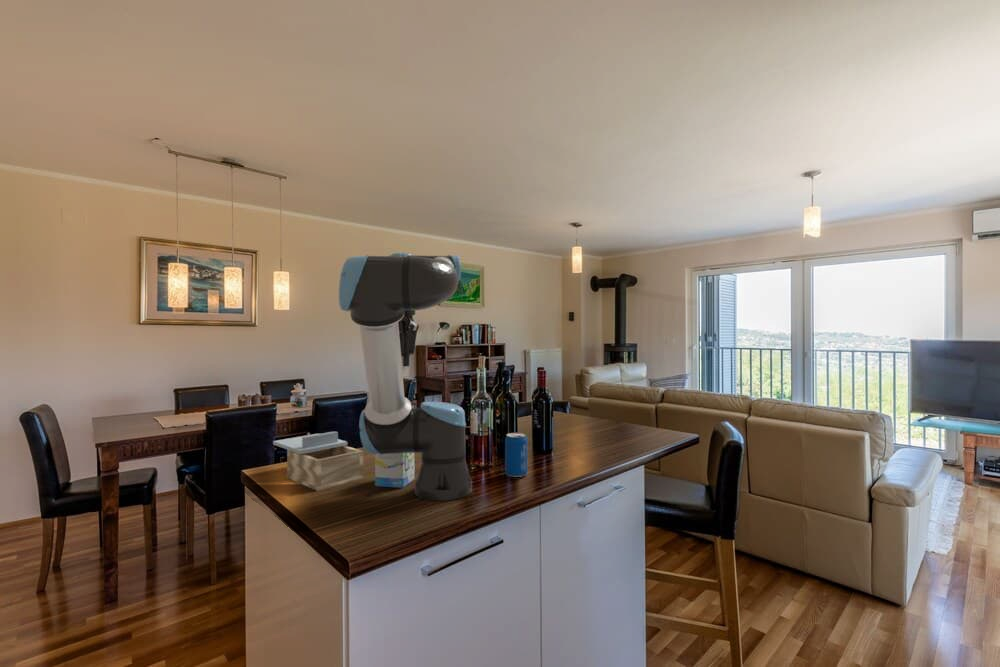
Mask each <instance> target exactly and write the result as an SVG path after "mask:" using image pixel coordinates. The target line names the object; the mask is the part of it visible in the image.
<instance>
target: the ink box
mask: <svg viewBox="0 0 1000 667" xmlns="http://www.w3.org/2000/svg"><path fill="white" fill-rule="evenodd" d="M374 455H375V456H374V460H375V461H374V462H375V463H374V465H375V466H374V467H375V468H374V470H375V471H374V478H375V479H374V486H375V487H383V488H384V487H386V488H401V489H403V488H404V487H406V486H407V485H408V484H410V483H411V482H412V481H414V480H415V453H393V454H374Z"/></svg>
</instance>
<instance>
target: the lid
mask: <svg viewBox="0 0 1000 667" xmlns="http://www.w3.org/2000/svg"><path fill="white" fill-rule="evenodd" d="M272 445H274V446H277V447H279V448H282V449H285V450H290V451H293V452H295V453H298V454H305V453H310V452H315V451H320V450H325V449H330V448H335V447H340V446H348V441H346V440H342V439H339V432H338V431H328V432H324V433H323V432H322V433H313V434H307V435H302V436H300V435H299V436H296V437H295V436H294V437H290V438H289V437H288V438H284V439H278V440H273V441H272Z"/></svg>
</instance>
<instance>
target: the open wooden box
mask: <svg viewBox="0 0 1000 667" xmlns="http://www.w3.org/2000/svg"><path fill="white" fill-rule="evenodd" d="M286 450H287V449H286ZM286 452H287V454H286V458H287V459H286V460H287V461H286V463H287V466H286V467H287V468H286V469H287V471H286V472H287V474H286V475H287V476H286V477H287V478H288V479H290V480H293V481H294V482H296V483H299V484H301V485H303V486H306V487H308V488H309V489H311V490H314V491H316V492H318V491H322V490H325V489H329V488H333V487H337V486H341V485H344V484H348V483H352V482H356V481H359V480H363V479H364V451H363V450H361V449H357V448H354V447H351V446H348V445H345V446H340V447H335V448H330V449H325V450H320V451H315V452H310V453H305V454H298V453H295V452H293V451H290V450H287V451H286Z"/></svg>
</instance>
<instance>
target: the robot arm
mask: <svg viewBox="0 0 1000 667" xmlns="http://www.w3.org/2000/svg"><path fill="white" fill-rule="evenodd" d="M342 265H343V266H342V267H341V268H342V269H341V272H340V279H339V284H338V285H339V286H338V287H339V288H338V302H339V304H338V305H339V307H340V309H341V310H342V311H345V312H349V314H350V318H351V321H352V322H353V323H354V324H355V325H358V326H359V332H360V340H361V346H362V354H363V360H364V361H363V362H364V368H365V376H366V382H367V384H366V385H367V391H368V397H369V398H368V399H369V401H368V403H367V404H366V406H365V408H364V409H363V410H362V411H361V413H360V416H359V424H358V428H359V437H360V443H361V445H362V447H363V449H364V451H366V452H367V453H369V454H371V455H372V454H374V455H375V454H393V453H414V454H415V453H416V454H417V453H418V454H419V453H421V458H420V459H421V460H420V461H421V463H420V466H419V471H418V473H417V478H416V480H415V483H414V494H415V496H417V497H418V498H420V499H423V500H427V501H437V502H438V501H439V502H440V501H450V500H451V501H452V500H453V501H454V500H457V499H462V498H465V497H466V496H468V495H470V494H471V493H472V491H473V480H472V478H471V476H470V472H469V471H470V470H469V468H468V465H467V462H466V426H467V423H466V412H465V410H464V409H463V407H462V406H460V405H458V404H455V403H450V402H443V401H423V402H421V404H420V407H412V403H411V401H410V400H409V399H408V398H407V397H405V386H404V384H405V383H404V377H405V378H406V377H410V374H409V373H410V372H409V371H410V370H409V368H410V356H411V355H413V354H414V353H415V348H416V343H417V342H416V340H417V333H418V330H419V328H420V324H418V323H415V321H414V320H415V319H414V316H415V315H416V311H420V310H421V311H422V310H427V309H429V308H433V307H435V306H438V305H440V304H442V303H444V302H446V301H447V300H449V299H450V298H451V297H452V296H453V295H454V294H455V292H457V289H458V286H459V281H460V280H461V278H462V276H461V275H462V273H461V272H462V270H461V268H462V267H461V266H462V262H461V258H460V256H458V255H415V254H414V255H413V254H411V253H405V252H403V253H400V252H394V253H392V254H390V255H389V256H388V255H382V256H380V255H378V256H377V255H368V254H366V255H362V256H361V255H360V256H357V255H356V256H351V257H348V258H347V259H346V260H345V261H344V263H343V264H342Z"/></svg>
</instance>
